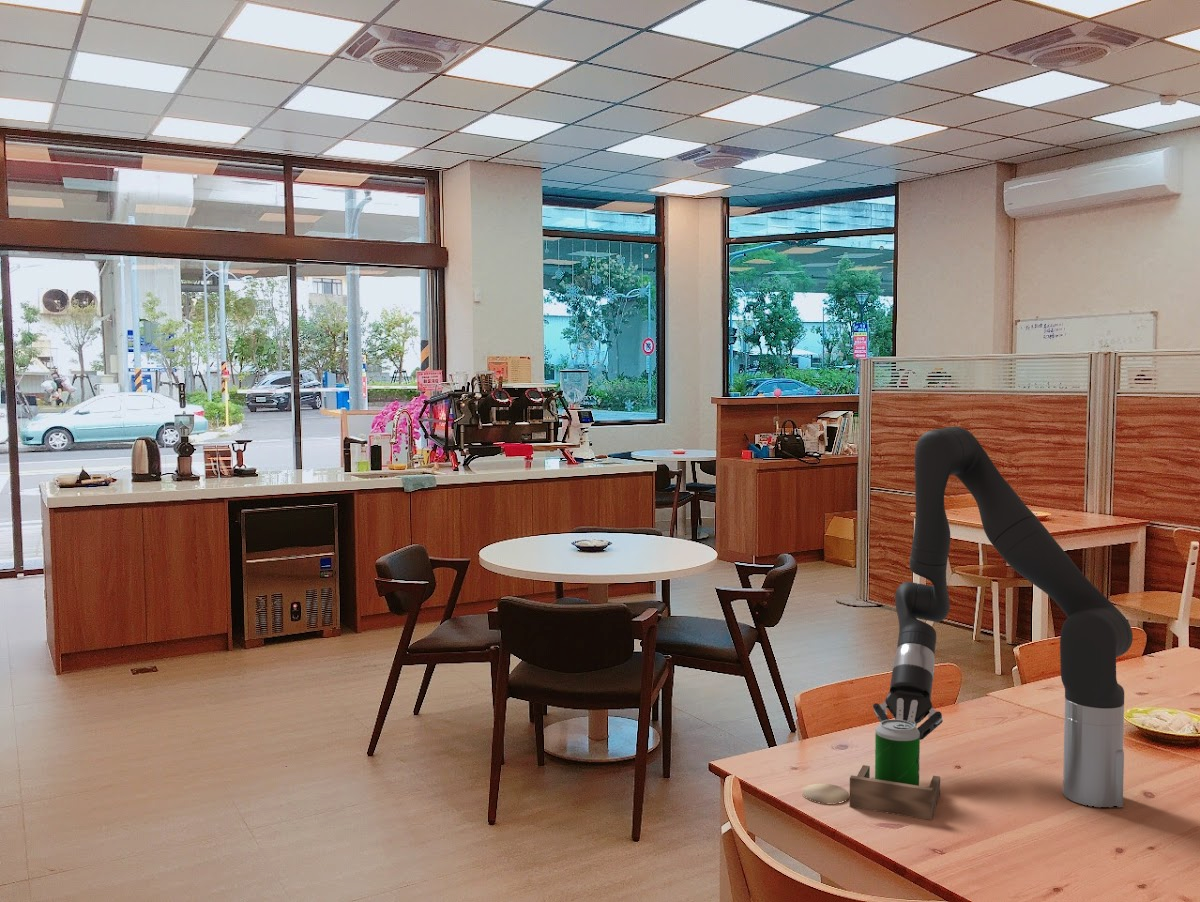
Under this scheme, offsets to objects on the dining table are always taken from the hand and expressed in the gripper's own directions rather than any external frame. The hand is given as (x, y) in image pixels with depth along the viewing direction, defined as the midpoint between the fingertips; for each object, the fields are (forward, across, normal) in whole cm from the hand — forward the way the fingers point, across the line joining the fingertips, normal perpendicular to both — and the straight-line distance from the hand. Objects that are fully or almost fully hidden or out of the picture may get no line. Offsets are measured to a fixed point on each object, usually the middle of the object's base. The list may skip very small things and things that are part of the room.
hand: (901, 756), depth 180 cm
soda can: (+7, 0, 0) cm, 7 cm away
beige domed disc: (+12, -11, -5) cm, 17 cm away
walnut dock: (+9, 0, -3) cm, 10 cm away
